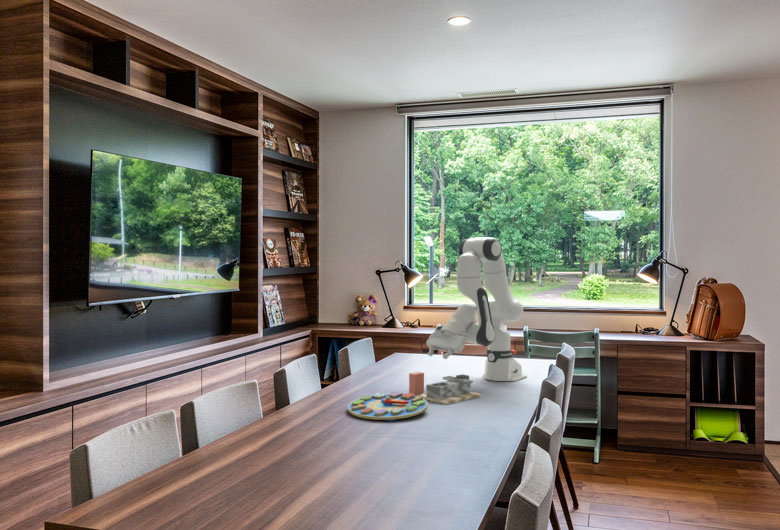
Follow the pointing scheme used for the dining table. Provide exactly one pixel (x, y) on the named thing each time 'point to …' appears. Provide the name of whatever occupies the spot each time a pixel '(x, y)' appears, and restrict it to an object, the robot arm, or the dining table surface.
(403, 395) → the shape sorting clock
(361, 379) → the dining table surface
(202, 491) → the dining table surface
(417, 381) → the salmon pink rectangular box
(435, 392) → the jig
